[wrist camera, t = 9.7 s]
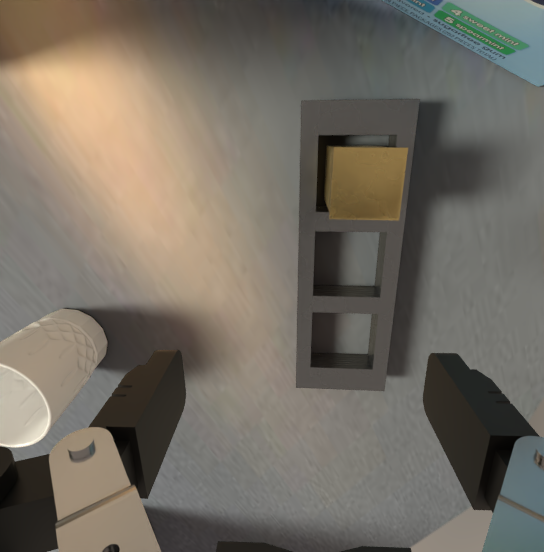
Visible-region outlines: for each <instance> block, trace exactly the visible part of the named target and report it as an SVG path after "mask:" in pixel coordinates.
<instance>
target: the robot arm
mask: <svg viewBox="0 0 544 552" xmlns="http://www.w3.org/2000/svg"><path fill="white" fill-rule="evenodd" d="M185 399H186V389H185V380H184V371H183V362H182V355H181V352H180V351H179V350H156V351H155V352H154V353H153V355H152V357H151V358H150V360H149V361H148V363H147V364H146V365H138V366H137V367H136V368H134V369H133V370H131V371H130V372H129V373H127V374H126V375H125V377H124V378H123V379H122V381H121V382H120V384H119V385H118V388H116V389H115V391H114V392H113V393H112V397H110V398H109V399H108V400H107V402H106V403H105V405H104V406H103V407H102V409H101V410H100V412H99V413H98V414H97V416H96V417H95V419H94V420H93V421H92V423H91V424H90V426H89V427H88V428H84V429H81V430H78V431H75V432H73V433H71V434H69V435H67V436H66V437H64V438H63V439H62V440H60V441H59V442H58V443H57V444H56V445H55V446H54V448H53V449H52V451H51V453H50V454H47V455H43V456H39V457H34V458H30V459H25V460H21V461H16V462H15V461H14V458H13V455H12V452H11V451H10V450H9V449H8V448H5V447H0V552H47V551H51V550H54V549H59V552H161V550H160V547H159V545H158V542H157V539H156V537H155V534H154V532H153V529H152V527H151V524H150V522H149V519H148V517H147V514H146V512H145V509H144V507H143V504H142V501H141V499H140V498H145V499H148V496H149V494H150V491H151V489H152V486H153V484H154V482H155V479H156V477H157V474H158V472H159V469H160V467H161V464H162V462H163V459H164V457H165V454H166V452H167V449H168V447H169V444H170V442H171V439H172V437H173V434H174V432H175V429H176V427H177V424H178V422H179V419H180V417H181V415H182V412H183V409H184V406H185ZM423 404H424V409H425V413H426V415H427V417H428V419H429V421H430V423H431V425H432V427H433V429H434V431H435V433H436V435H437V437H438V439H439V441H440V443H441V445H442V447H443V449H444V451H445V453H446V455H447V457H448V459H449V461H450V463H451V465H452V467H453V469H454V471H455V473H456V475H457V477H458V479H459V481H460V483H461V485H462V487H463V489H464V491H465V493H466V495H467V497H468V499H469V501H470V503H471V505H472V507H473V509H474V510H492V512H493V516H492V520H491V523H490V526H489V530H488V533H487V537H486V540H485V543H484V547H483V550H482V552H544V438H543V437H540V436H539V435H538V434H537V433H536V432H535V430H534V429H533V428H532V427H531V426H530V425H529V423H528V422H527V421H526V420H525V419H524V417H523V416H522V415H521V414H520V413H519V412H518V410H517V409H516V408H515V407H514V406H513V404H510V401H509V400H508V399H507V397H506V396H505V395H504V394H502V393H501V390H500V389H499V388H498V387H497V386H496V384H495V383H494V382H493V381H492V380H491V379H490V378H488V377H487V376H485V375H483V374H482V373H480V372H479V371H477V370H470V369H469V367H468V366H467V365H466V364H465V362H464V361H463V360H462V359H461V357H460V356H459V355H458V354H456V353H431V354H430V356H429V358H428V364H427V371H426V378H425V385H424V392H423ZM216 552H292V551H289V550H285V549H282V548H279V547H276V546H273V545H269V544H266V543H253V542H225V541H218V544H217V549H216ZM341 552H411V548H394V547H366V546H362V547H358V548H354V549H350V550H346V551H341Z"/></svg>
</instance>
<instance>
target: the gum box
mask: <svg viewBox="0 0 544 552" xmlns="http://www.w3.org/2000/svg"><path fill="white" fill-rule="evenodd" d="M382 1H384V2H385V3H387V4H389V5H391V6H393V7H394V8H396V9H398V10H400V11H402V12H403V13H405V14H407V15H409V16H410V17H412V18H414V19H416V20H418V21H419V22H421V23H423V24H425V25H427V26H428V27H430V28H432V29H434V30H436V31H437V32H439V33H441V34H443V35H445V36H447V37H448V38H450V39H452V40H454V41H456V42H457V43H459V44H461V45H463V46H465V47H466V48H468V49H470V50H472V51H473V52H475V53H477V54H479V55H481V56H482V57H484V58H486V59H488V60H490V61H492V62H493V63H495V64H497V65H499V66H501V67H502V68H504V69H506V70H508V71H510V72H511V73H513V74H515V75H517V76H519V77H521V78H523V79H524V80H526V81H528V82H530V83H532V84H534V85H535V86H537V87H539V86H543V85H544V0H382Z"/></svg>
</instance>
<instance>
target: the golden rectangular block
mask: <svg viewBox="0 0 544 552" xmlns="http://www.w3.org/2000/svg"><path fill="white" fill-rule="evenodd" d="M407 154H408V148H406V147H383V146H326V163H325V182H324V200H325V202H326V205H327V207H328V210H329V219H343V220H397V221H399V217H400V209H401V201H402V193H403V185H404V177H405V169H406V161H407Z"/></svg>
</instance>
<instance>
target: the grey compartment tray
mask: <svg viewBox="0 0 544 552" xmlns="http://www.w3.org/2000/svg"><path fill="white" fill-rule="evenodd" d="M419 102H420V99H382V100H311V101H301V150H300V202H299V255H298V308H297V361H296V388H319V389H345V390H371V391H384V390H385V382H386V374H387V365H388V357H389V349H390V341H391V332H392V324H393V316H394V308H395V299H396V291H397V283H398V275H399V266H400V258H401V250H402V242H403V233H404V225H405V217H406V209H407V200H408V192H409V184H410V176H411V167H412V159H413V151H414V143H415V135H416V126H417V118H418V110H419ZM318 135H389V146H388V147H406V148H408V154H407V161H406V169H405V177H404V185H403V193H402V201H401V209H400V217H399V221H397V220H343V219H329V210H328V207H316V191H317V162H318ZM315 231H331V232H380V237H379V248H378V258H377V268H376V278H375V286H331V285H313V277H314V249H315ZM312 312H322V313H362V314H372V319H371V329H370V339H369V349H368V355H363V354H332V353H311V335H312Z"/></svg>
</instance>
